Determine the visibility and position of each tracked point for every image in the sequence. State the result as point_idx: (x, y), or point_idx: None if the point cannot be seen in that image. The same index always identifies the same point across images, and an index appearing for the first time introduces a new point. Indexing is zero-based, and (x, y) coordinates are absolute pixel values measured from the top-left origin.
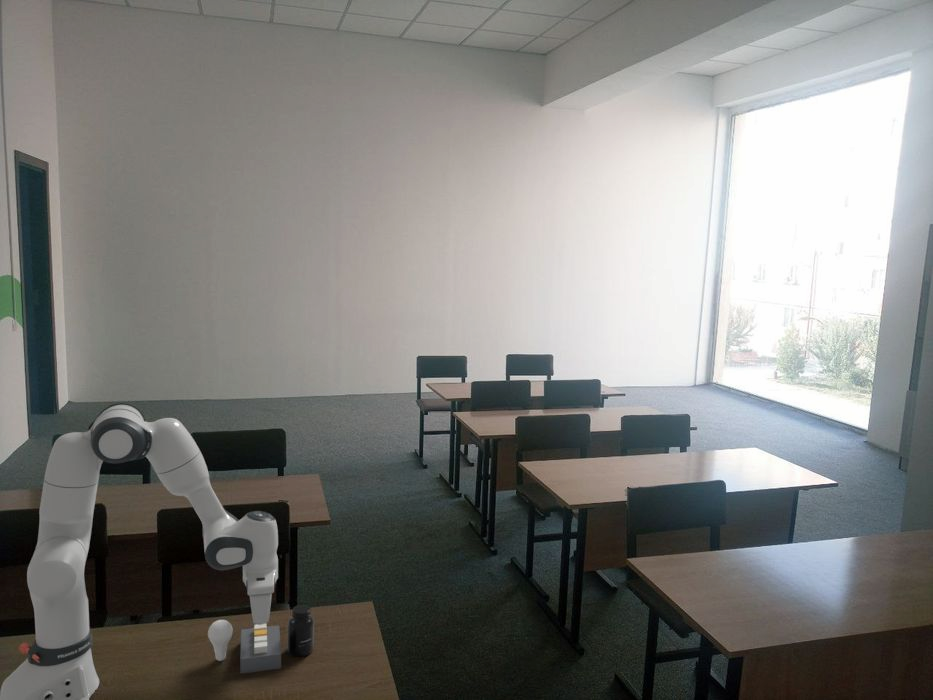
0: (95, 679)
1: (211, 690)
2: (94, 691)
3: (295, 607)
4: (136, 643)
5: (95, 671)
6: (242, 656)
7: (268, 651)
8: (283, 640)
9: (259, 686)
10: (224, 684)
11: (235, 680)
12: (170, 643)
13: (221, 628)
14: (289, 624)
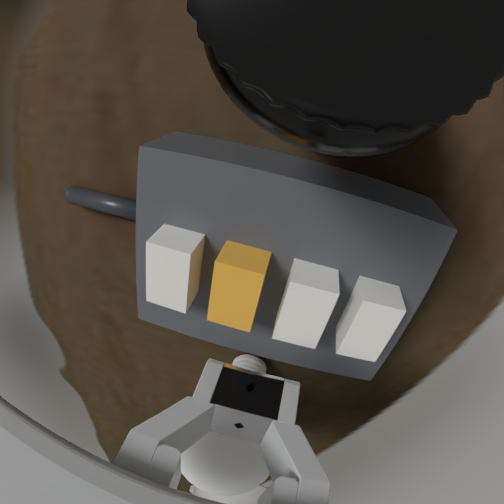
0: (246, 494)
1: (389, 400)
2: (262, 486)
3: (249, 42)
4: (126, 426)
5: (230, 496)
6: (358, 372)
7: (394, 278)
8: (199, 114)
9: (473, 301)
10: (388, 376)
11: (391, 352)
12: (133, 400)
13: (252, 487)
14: (360, 154)
